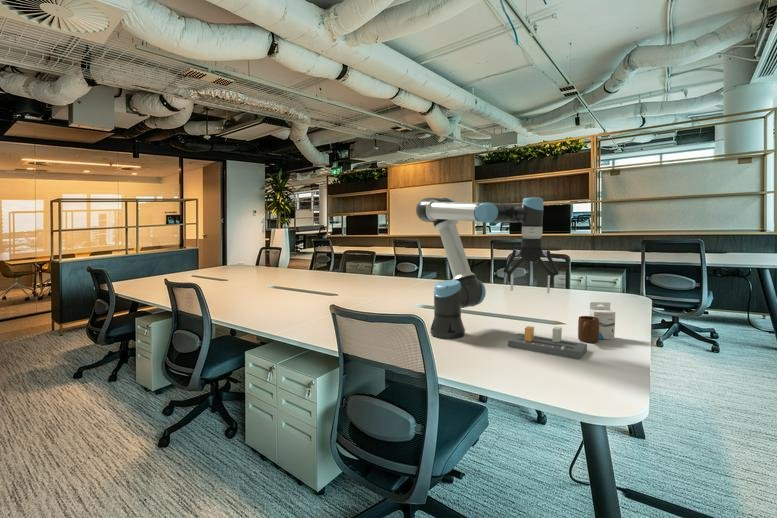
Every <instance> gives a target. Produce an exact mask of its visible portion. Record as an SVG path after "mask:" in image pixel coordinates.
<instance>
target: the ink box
mask: <svg viewBox="0 0 777 518" xmlns="http://www.w3.org/2000/svg"><path fill="white" fill-rule="evenodd" d="M599 305H600V306H599ZM588 316H592V317H597V318H599V340H611V341H612V340H613V341H615V330H616V328H615V327H616V311H615V310H613V309H611V302H610V301H609V302H607V301H606V302H605V301H604V302H603V301H600V302H599V301H598V302H597V301H595V302H593V301H591V302H590V305H589V315H588Z"/></svg>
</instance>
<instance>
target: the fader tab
mask: <svg viewBox="0 0 777 518" xmlns="http://www.w3.org/2000/svg"><path fill="white" fill-rule="evenodd" d="M524 334H525V341H530V342H531V341H532V340H534V336H535V327H534V326H530V325H527V326H525V327H524Z"/></svg>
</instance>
